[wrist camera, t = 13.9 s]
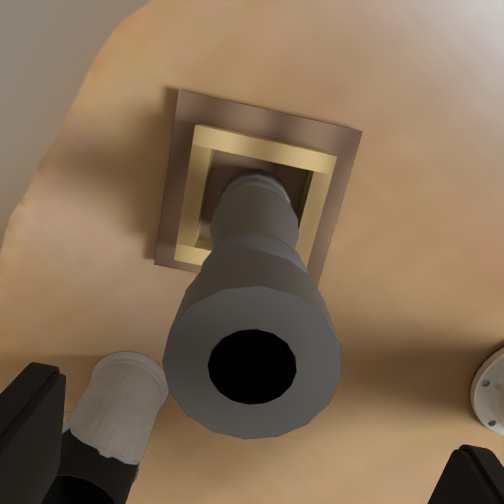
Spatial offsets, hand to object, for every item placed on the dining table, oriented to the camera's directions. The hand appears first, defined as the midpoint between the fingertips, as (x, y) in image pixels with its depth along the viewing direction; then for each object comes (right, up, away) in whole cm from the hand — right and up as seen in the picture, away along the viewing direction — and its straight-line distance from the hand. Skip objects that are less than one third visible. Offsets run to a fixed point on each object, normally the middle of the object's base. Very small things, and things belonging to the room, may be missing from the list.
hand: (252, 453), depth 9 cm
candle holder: (0, +9, +27) cm, 29 cm away
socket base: (0, +10, +28) cm, 30 cm away
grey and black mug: (-15, -12, +36) cm, 41 cm away
